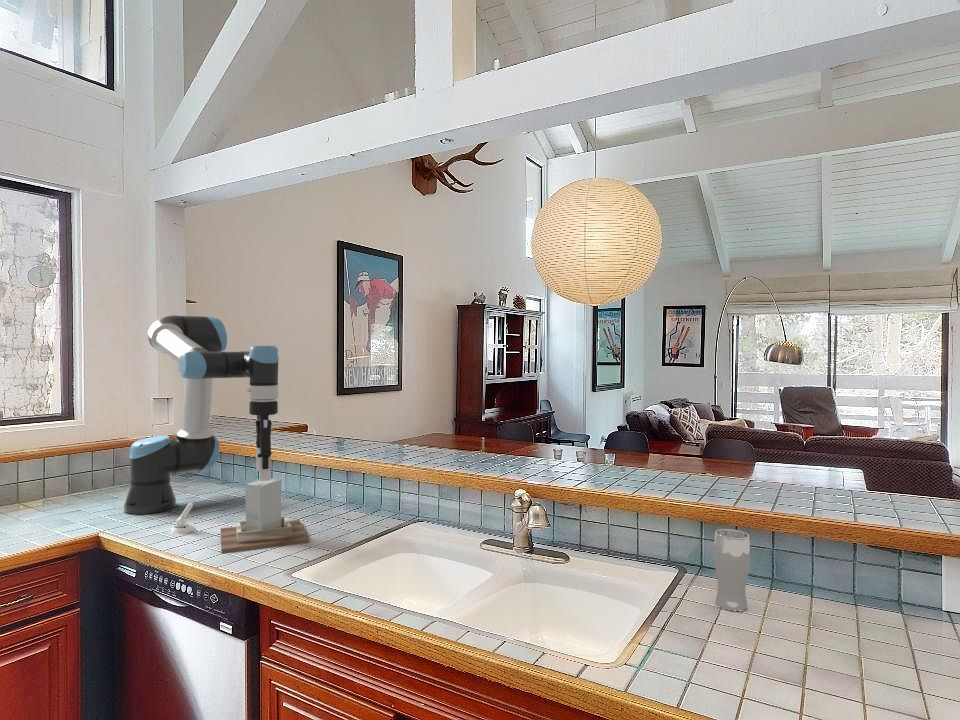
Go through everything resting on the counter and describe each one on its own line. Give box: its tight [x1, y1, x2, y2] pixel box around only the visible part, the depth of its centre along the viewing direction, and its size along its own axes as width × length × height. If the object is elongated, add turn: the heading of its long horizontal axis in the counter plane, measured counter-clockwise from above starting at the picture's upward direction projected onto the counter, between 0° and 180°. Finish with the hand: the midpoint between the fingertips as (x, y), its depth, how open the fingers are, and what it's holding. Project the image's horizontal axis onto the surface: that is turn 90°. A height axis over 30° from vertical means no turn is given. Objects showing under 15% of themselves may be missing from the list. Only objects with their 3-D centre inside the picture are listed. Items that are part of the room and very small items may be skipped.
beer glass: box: [713, 528, 751, 612], centre depth 123 cm, size 7×7×15 cm
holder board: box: [220, 515, 310, 554], centre depth 167 cm, size 20×22×4 cm
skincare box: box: [245, 477, 282, 531], centre depth 167 cm, size 8×6×15 cm
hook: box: [170, 502, 196, 534], centre depth 173 cm, size 6×10×6 cm
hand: (263, 475), depth 167 cm, fingers open, 13 cm apart
